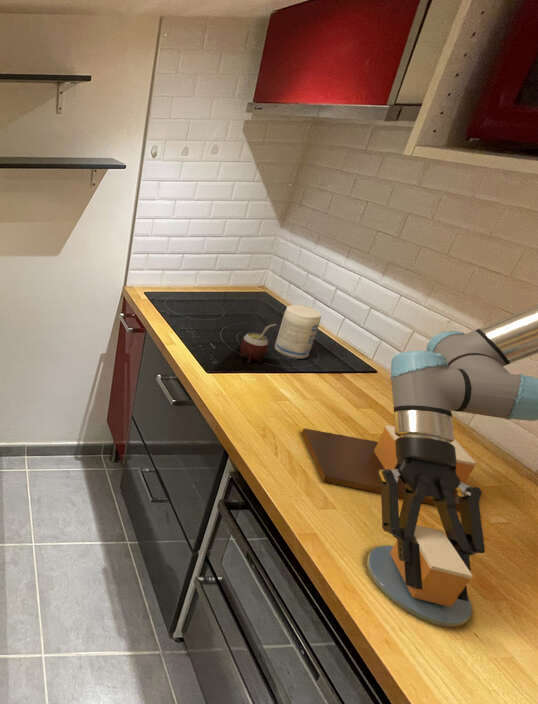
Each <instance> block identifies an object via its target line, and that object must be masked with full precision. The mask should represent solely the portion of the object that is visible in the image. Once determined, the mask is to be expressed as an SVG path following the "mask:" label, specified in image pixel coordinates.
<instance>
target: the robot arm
mask: <svg viewBox="0 0 538 704" xmlns="http://www.w3.org/2000/svg"><path fill="white" fill-rule="evenodd" d="M426 344H427V345H426V350H407V351H403V352H402V351H401V352H398V353H397V354H395V355H394V356H393V357H392V358H391V363H390V377H389V378H390V382H391V391H392V393H391V394H392V405H393V424H394V425H393V426H394V427H395V434H396V435H397V436H398V437H400V438H397V440H395V446H396V458H397V461H398V462H397V465H396V466H395V469H392V470H389V469H385V470H377V476H378V478H379V481H380V483H381V493H380V497H381V499H380V500H381V528H382V530H383V531H384V532H386V533H389V534H391V535H392V536H393V538H394V539H396V541H397V544H398V557H399V560H400V561H404V564H405V580H406V585H408V586H411V587H414V588H417V589H421V590H422V577H421V563H420V549H419V544H418V543H413V542H411V541H412V540H413V537H414V532H415V528H416V525H418V524H417V523H418V520H419V515H420V511H421V506H422V503H423V502H422V501H423V500H424V498H425V497H428V498H430V499H432V502H433V504H434V505H433V504H432V505H433V506H435V507H436V510H437V513H438V515H439V518H440V521H441V524H442V527H443V531H444V533H445V535H446V537H447V538H448V540H449V541H450V543H451V544H452V546H453V547H454V549H455V550H456V551H457V553H458V554H459V556H460V557H461V559H462V560H463V562H464V563H465V565H466V566H467V568H468V569H469V571H470V572H471V573H472V569H471V558H470V557H471V556H475V554H484V553H485V552H486V547H485V546H486V545H485V541H484V540H485V538H484V531H483V524H482V517H481V510H480V508H481V507H480V500H481V497H482V494H483V491H482V489H481V488H479V487H477V486H470V485H468V484H466V483H462V482H460V479H459V477H458V476H457V474H456V466H457V461H456V452H455V447H454V446H453V445H452V444H450V442H453V441H454V440H456V438H455V431H454V424H453V423H454V422H453V413H452V412H458V413H459V412H460V413H466V414H471V415H477V416H478V415H479V416H486V417H490V418H491V417H492V418H499V419H505V420H508V421H509V420H518V421H529V422H535V421H538V377H537V376H536V377H535V376H531V375H524V374H523V373H519V374H515V373H511V372H509V370H507V369H506V368H505V366H508V365H511V364H513V363H516V362H518V361H521V360H522V361H523V360H524V359H527V358H531V357H532V356H535V355H538V304H535V305H533V306H530V307H528V308H526V309H523V310H520V311H518V312H515V313H513V314H511V315H509V316H506V317H504V318H500V319H499V320H497V321H494V322H492V323H490V324H487V325H483V326H481V327H478V328H477V329H475V330H472V331H468V332H467V333H464V332H462V331H456V330H452V331H451V330H449V331H442V332H440V333H437V334H435V335H434V336H432V337H431V338H430V339H429V340H428V343H426ZM398 477H399V478H400V480H401V481H402V482H403V484H404V485H405V488H404V492H403V497H404V498H403V500H402V504H401V508H399V507H400V506H399V497H398V486H397V482H398ZM456 489H457V491H458V492H457V495H459V508H460V510H459V514H458V512H457V511H458V510H456V509H455V506H456V503H455V500H454V497H453V495H452V493H453V492H454V491H455V490H456ZM443 500H444V501H443ZM399 509H400V510H399ZM459 515H460V516H459ZM468 595H469V594H468V584H467V585H466V586H465V588H464V589H463V591H462V592H461V594H460V595H459V596H458V598H457V599H460V600H464V601H468V598H469V596H468Z"/></svg>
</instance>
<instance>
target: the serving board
mask: <svg viewBox="0 0 538 704" xmlns="http://www.w3.org/2000/svg"><path fill="white" fill-rule="evenodd" d="M301 435H302V437H303V439H304V442H305V444H306V447H307V449H308V450H309V453H310V455H311V458H312V459H313V462H314V464H315V466H316V468H317V471H318V474H319V475H320V477H321V480H322V482H325V483H329V484H334V485H338V486H343V487H348V488H352V489H357V490H363V491H367V492H371V493H377V494H381V483H380V481H379V478H378V476H377V470H385V468H384V467H383V465H382V464H381V462H380V460H379V459H378V457H377V456H376V454H375V452H374V450H375V448H376V445H377V443H378V441H374V440H370V439H365V438H359V437H354V436H348V435H343V434H337V433H332V432H328V431H327V432H326V431H321V430H317V429H316V430H315V429H310V428H305V427H303V428H302V431H301ZM397 486H398V499H399V498H400V499H404V497H403V492H404V488H405V485H404V484H403V482H402V481H401V480H400V479H398V482H397ZM457 492H458V491H457V490H455V491H454V492H453V493H452V495H453V497H454V500H455V503H456V506H455V509H456V511H460V508H459V495H457ZM443 501H444V500H443ZM422 503H424V504H427V505H433V506H435V505H434V504H433V502H432V499H430V498H428V497H425V498H424V500H423V501H422Z"/></svg>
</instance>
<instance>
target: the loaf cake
mask: <svg viewBox="0 0 538 704" xmlns="http://www.w3.org/2000/svg"><path fill="white" fill-rule="evenodd" d="M397 438H400V437H398V436H397V435H396V434H395V427H394V425H388V424H385V427H384V428H383V431H382V432H381V434H380V437H379V439H378V441H377V442H378V443H377V445H376V448H375V450H374V452H375V454H376V456H377V457H378V459H379V460H380V462H381V464H382V465H383V467H384V468H385V469H389V470H392V469H395V466H396V465H397V462H398V461H397V458H396V446H395V440H397ZM450 444H452V445H453V446H454V447H455V452H456V461H457V466H456V474H457V476H458V477H459V479H460V482H462V483H464V484H466V481H467V480H468V478H469V477H470V475H471V473H472V472H473V470H474V468H475V466H476V465H477V461H475V459H473V457H472V456H471V455H470V454H469V453H468V452H467V451H466V449H465V448H463V446H462V445H461V444H460V443H459V442H458V440H457V439H455V440H454V441H453V442H450ZM398 479H400V478H399V477H398ZM456 490H457V489H456Z"/></svg>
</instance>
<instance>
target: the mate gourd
mask: <svg viewBox="0 0 538 704" xmlns="http://www.w3.org/2000/svg"><path fill="white" fill-rule="evenodd" d="M277 325H278V324H277V323H274V324H269V325H267V326H265V328H264V330H263V331H262V333H259V332H254V331H253V332H247V333H246V334H245V336H243V339H242V340H241V344H240V354H239V356H240V357H242V358H245V359H247V361H246V363H247V364H251V362H252V361H255V362H258V363H262V362H263V359H264V357H265V356H266V354H267V351H268V348H269V341H268V338H267V336H265V333H267V331H268V330H269V329H270V328H272V327H275V326H277Z"/></svg>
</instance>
